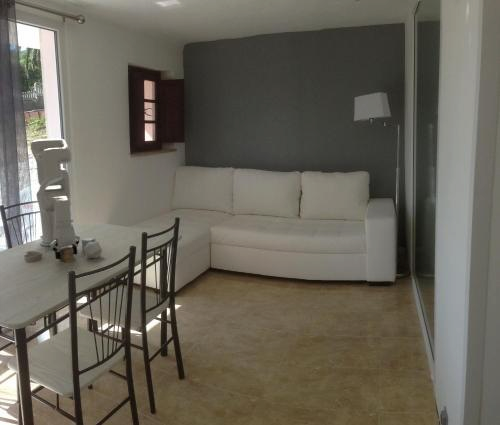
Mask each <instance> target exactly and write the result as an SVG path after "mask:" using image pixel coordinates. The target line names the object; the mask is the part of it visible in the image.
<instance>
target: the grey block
mask: <svg viewBox="0 0 500 425" xmlns="http://www.w3.org/2000/svg"><path fill="white" fill-rule="evenodd" d="M88 242H96V238H94V237H86V238H83V239H81V249H82V251H83V252H84V250H83V249H84V248H85V246H86V245H87V243H88Z"/></svg>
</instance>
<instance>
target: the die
mask: <svg viewBox="0 0 500 425" xmlns="http://www.w3.org/2000/svg"><path fill="white" fill-rule="evenodd" d="M83 250H84V251H83V252H84V253H85V254H84V255H86V258H87V259H99V257H100V255H101V253H102V252H103V249H102V247H101V244H100V242H98V241H95V242H88V243H87V245H86V246H85V248H84V249H83Z"/></svg>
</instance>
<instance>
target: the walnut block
mask: <svg viewBox="0 0 500 425" xmlns="http://www.w3.org/2000/svg"><path fill="white" fill-rule="evenodd" d="M59 252H60V254H61V259H60V260H59V261H60V262H65V263H67V262H72V261H74V260H75V254H74V250H73V248H72V247H69V246H65V247H61V249H60V251H59Z"/></svg>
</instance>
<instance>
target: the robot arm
mask: <svg viewBox="0 0 500 425" xmlns="http://www.w3.org/2000/svg"><path fill="white" fill-rule="evenodd" d="M30 150H31V153H32V155H33V157H34V159H35V162H36V170H37V171H36V172H37V182H38V183H39V185H40V186H39V189H38V191H37V192H36V200H37V204H38V208H39V212H40V214H39V215H40V223H41V233H42V235H41V236H40V237H39V238H40V239H42V240H41V241H40V245H41V246H44V247H49V248H50V249H51V251H53V252H54V255H55V256H54V257H55V259H56V260H58V261H60V259H61V254H60V252H59V251H60V249H61V248H64V247H69V246H71V248H73V250H74V256H75V255H76V256H77V255H78V246H79V244H80V241H81V236H77V235H76V234H75V229H74V225H73V222H74V220H73V219H72V213H71V205H72V202H71V184H70V175H69V173H68V170H67V169H66V168H62V167H61V165H62V164H63V165H64V164H67V165H68V164H70V163H71V161H72V153H71V150H70V147H69V146H68V143H67V141H65V139H63V138H55V139H54V138H50V139H49V138H47V139H42V138H41V139H35V140H33V141H31V142H30ZM55 186H59V187H55Z"/></svg>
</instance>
